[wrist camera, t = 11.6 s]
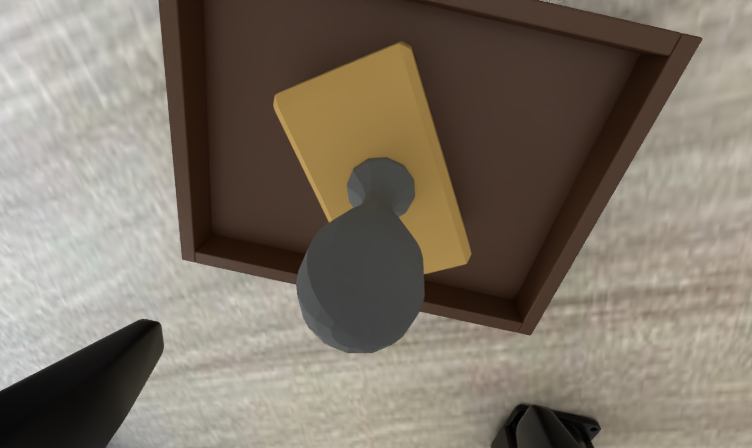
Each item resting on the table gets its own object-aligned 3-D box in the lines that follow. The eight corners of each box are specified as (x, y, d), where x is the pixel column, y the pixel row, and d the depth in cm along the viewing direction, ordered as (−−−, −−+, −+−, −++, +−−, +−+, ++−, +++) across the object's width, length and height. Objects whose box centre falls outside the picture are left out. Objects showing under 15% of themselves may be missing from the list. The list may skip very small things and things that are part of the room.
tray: (660, 36, 15) (704, 37, 13) (519, 305, 23) (530, 336, 21) (189, -71, 15) (149, -89, 13) (205, 237, 23) (181, 260, 20)
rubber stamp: (464, 226, 20) (521, 447, 9) (368, 251, 21) (323, 468, 11) (408, 37, 16) (398, 53, 5) (293, 85, 17) (100, 174, 7)
